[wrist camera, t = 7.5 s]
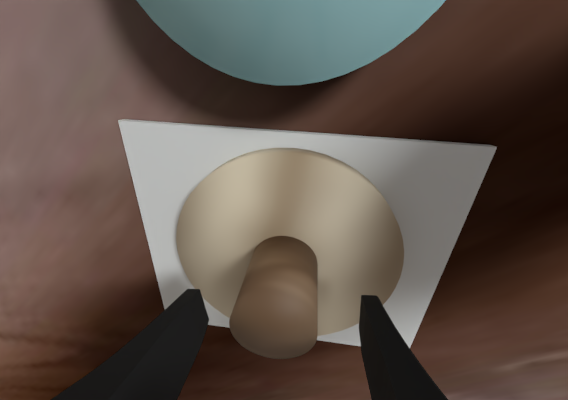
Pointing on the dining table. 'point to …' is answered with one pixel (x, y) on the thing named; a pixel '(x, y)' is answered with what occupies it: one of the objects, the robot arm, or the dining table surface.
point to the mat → (347, 148)
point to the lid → (288, 247)
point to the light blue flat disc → (288, 34)
